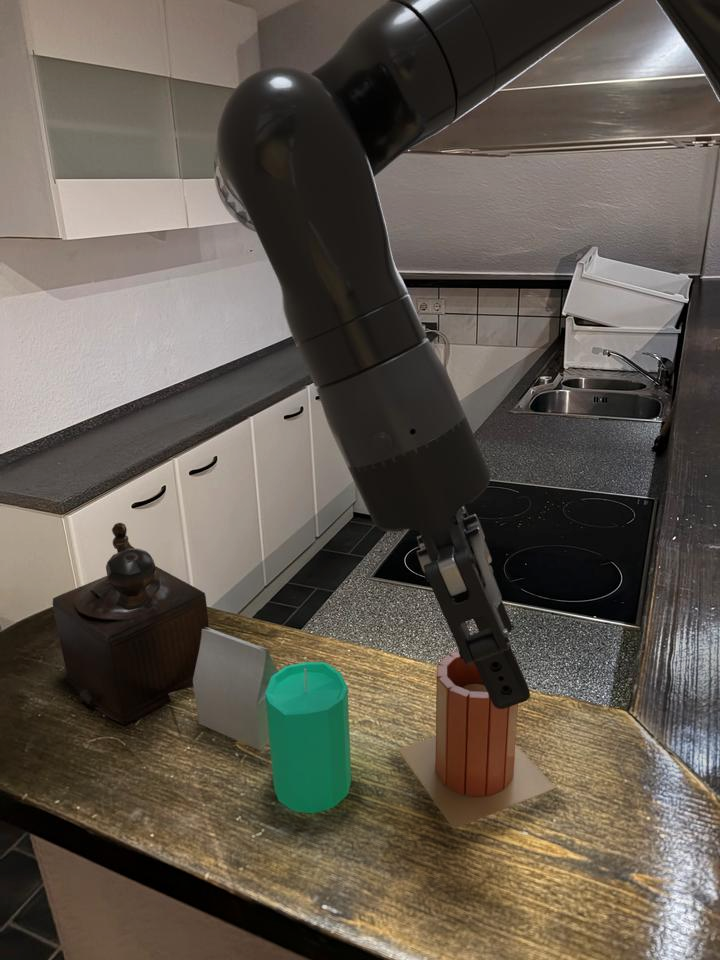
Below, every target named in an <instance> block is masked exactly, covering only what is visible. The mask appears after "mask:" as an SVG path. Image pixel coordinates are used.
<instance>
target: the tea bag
mask: <svg viewBox="0 0 720 960" xmlns="http://www.w3.org/2000/svg"><path fill="white" fill-rule="evenodd" d="M270 653H271V652H270V650H269V648H265V647H263V646H260V645H257V644H254V643H252V642H249V641H246V640H244V639H240V638H239V637H236V636H232V635H230V634H227V633H224V632H221V631H218V630H215V629H213V628H210V627H209V628H207V627H205V629H202V635H201V643H200V649H199V654H198V658H197V663H196V668H195V672H194V677H193V692H194V701H195V708H196V716H197V723H198V724H199V725H201V726H203V727H206V728H208V729H211V730H212V731H214V732H217V733H218V734H222V735H224V736H226V737H228V738H231V739H233V740H235V741H238V742H239V743H242V744H244V745H247V746H249V747H251V748H253V749H256V750H258V751H262V750H263V749H264V748H265V747H266V746H267V745H268V744H270V741H269V731H268V720H267V709H266V698H265V693H266V690H267V687H268V684H269V681H270V679H271V677H272V676H273V675H274V674H276V673H277V672H279V670H278V668H277V666H276V665H275V663H274V660H273V659H272V655H271V654H270Z"/></svg>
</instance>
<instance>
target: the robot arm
mask: <svg viewBox="0 0 720 960" xmlns="http://www.w3.org/2000/svg"><path fill="white" fill-rule="evenodd" d="M623 1H624V0H387V1H386V2H384V3H383V4H381V5H380V6H378V7H377V8H376V9H375V10H373V11H372V12H371V13H369V15H367V16H366V17H365V18H364V19H362V20H361V21H360V22H359V23H358V24H357V25H356V26H355V27H354V29H352V31H351V32H350V33H349V35H348V36H347V38H346V39H345V40H344V41H343V43H342V45H341V46H340V47H339V48H338V50H337V51H336V52H335V54H333V55H332V56H331V57H330V58H329V59H328V60H327V61H325V62H324V63H323V64H321V65H320V66H319V67H317V68H316V69H314V70H313V71H312V72H310V73H309V72H307V71H304V70H301V69H298V68H294V67H289V66H288V67H287V66H272V67H267V68H264V69H261V70H258V71H256V72H254V73H252V74H250V75H248V76H247V77H246V78H245V79H244V80H242V81H241V82H240V83H239V84H238V85H237V86H236V88H235V89H234V90H233V92H231V94H230V95H229V97H228V99H227V101H226V102H225V104H224V106H223V108H222V111H221V113H220V117H219V120H218V125H217V130H216V139H215V140H216V141H215V148H214V149H215V150H214V157H213V178H214V185H215V188H216V191H217V194H218V197H219V199H220V201H221V203H222V205H223V206H224V208H225V209H226V211H227V212H228V213H229V214H230V216H231V217H232V218H233V219H234V220H235V221H236V222H237V223H239V224H240V225H241V226H243V227H244V228H246V229H248V230H249V231H251V232H254V233H256V235H257V237H258V239H259V241H260V245H262V248H263V250H264V252H265V255H266V257H267V259H268V261H269V263H270V264H269V265H270V266H271V268H272V270H273V272H274V274H275V277H276V278H277V280H278V283H279V287H280V292H281V306H282V311H283V316H284V318H285V321H286V322H285V323H286V325H287V328H288V330H289V333H290V335H291V338H292V339H293V343H294V344H295V345H296V348H297V350H298V353H299V354H300V357H301V359H302V361H303V363H304V365H305V369H306V370H307V372H308V374H309V376H310V379H311V380H312V384H313V385H314V387H316V388H315V389H316V393H317V394H318V397H319V401H320V403H321V406H322V410H323V413H324V416H325V420H326V423H327V425H328V428H329V430H330V433H331V435H332V437H333V439H334V441H335V443H336V445H337V447H338V449H339V452H340V454H341V456H342V458H343V460H344V462H345V465H346V467H347V469H348V471H349V474H350V475H351V477H352V480H353V482H354V483H355V486H356V488H357V490H358V492H359V495H360V497H361V499H362V501H363V503H364V506H365V507H366V509H367V510H366V511H367V512H368V514H369V516H370V518H371V520H372V523H373V524H374V525H375V527H376V528H377V529H379V530H381V531H383V532H388V533H400V532H403V531H404V530H411V531H412V530H413V531H418V532H419V534H420V535H418V536H416V540H417V544H418V547H419V550H416V555H417V558H418V561H419V563H420V566H421V570H422V573H423V576H424V578H425V581H426V582H428V583H429V585H430V587H431V590H432V592H433V594H434V596H435V598H436V601H437V603H438V606H439V608H440V611H441V613H442V615H443V617H444V620H445V621H446V624H447V626H448V627H449V630H450V632H451V635H452V637H453V639H454V641H455V643H456V646H457V648H458V651H459V655H460V657H461V659H464V661H465V663H466V665H468V664H471V663H475V666H476V668H477V670H478V672H479V674H480V677H481V679H482V681H483V683H484V685H485V688H486V690H487V692H488V694H489V696H490V699H491V701H492V703H493V705H494V706H495V707H496V708H498V709H505V708H508V707H510V706H513V705H516V704H518V705H519V704H522V703H524V702H527V701H528V700H529V699H530V697H531V692H530V688H529V685H528V683H527V680H526V677H525V676H524V674H523V671H522V668H521V667H520V664H519V662H518V660H517V658H516V654H515V653H514V650H513V648H512V645H511V642H510V638H511V635H510V633H511V632H512V631H513V625H512V621H511V619H510V616H509V613H508V612H507V609H506V606H505V605H504V602H503V597H502V594H501V591H500V589H499V588H500V587H499V585H498V583H497V580H496V578H495V576H494V569H493V567H492V565H490V564H491V563H492V561H493V559H492V556H491V555H492V554H491V553H490V550H489V547H488V545H487V542H486V535H485V533H484V530H483V527H482V525H481V522H480V520H479V518H478V516H477V514H476V513H474V514H470V515H469V513H468V511H467V508H466V506H465V505H470V504H472V503H473V502H475V501H476V500H477V499H478V498H479V497H480V496H481V495H483V493H484V492H485V491H486V490H487V488H488V487H489V484H490V481H491V473H490V469H489V467H488V466H487V463H486V461H485V459H484V456H483V454H482V451H481V449H480V447H479V444H478V442H477V440H476V437H475V434H474V432H473V430H472V428H471V425H470V422H469V421H468V418H467V416H466V413H465V411H464V408H463V406H462V404H461V401H460V398H459V397H458V394H457V392H456V390H455V387H454V385H453V383H452V379H451V378H450V376H449V374H448V372H447V370H446V368H445V366H444V365H443V362H442V361H441V359H440V357H439V356H438V354H437V353H436V351H435V349H434V347H433V346H432V343H431V342H430V339H429V338H428V337H427V333H426V331H425V328H424V326H423V324H422V321H421V318H420V316H419V314H418V311H417V309H416V307H415V304H414V302H413V300H412V298H411V295H410V294H409V290H408V288H407V286H406V284H405V282H404V280H403V277H402V275H401V273H400V272H399V270H398V269H397V266H396V263H395V261H394V256H393V252H392V248H391V243H390V238H389V237H390V236H389V232H388V227H387V223H386V220H385V215H384V212H383V211H384V210H383V208H382V204H381V201H380V200H381V199H380V196H379V192H378V189H377V185H376V180H375V178H374V177H376V176H377V175H378V174H380V173H381V172H382V171H384V169H386V168H387V167H389V165H390V164H391V163H393V162H394V161H395V160H396V159H397V158H399V157H400V156H401V155H403V154H404V153H406V152H407V151H409V150H411V149H412V148H414V147H415V146H417V145H419V144H421V143H422V142H424V141H426V140H428V139H429V138H431V137H433V136H435V135H437V134H438V133H440V132H442V131H443V130H444V129H447V128H448V127H450V125H452V124H454V123H455V122H456V121H458V120H459V119H461V118H462V117H463V116H465V115H466V114H468V113H469V112H471V111H472V110H474V109H475V108H476V107H477V106H479V105H480V104H481V105H482V103H484V102H485V101H486V100H488V99H489V98H490V97H492V96H493V95H495V94H496V93H498V92H499V91H500V90H502V89H504V87H506V86H507V85H509V84H510V83H512V82H513V81H514V80H515V79H517V78H518V77H519V76H521V75H522V74H524V73H525V72H527V71H528V70H529V69H530V68H532V67H533V66H535V65H536V64H537V63H538V62H540V61H541V60H543V59H544V58H545V57H547V56H548V55H549V54H551V53H552V52H554V51H555V50H556V49H558V48H559V47H560V46H562V45H563V44H564V43H565V42H567V41H568V40H570V39H571V38H572V37H574V36H576V35H577V34H578V33H579V32H581V31H582V30H583V29H585V28H586V27H587V26H589V25H590V24H592V23H593V22H594V21H596V20H597V19H599V18H600V17H601V16H603V15H604V14H606V13H607V12H608V11H610V10H612V9H613V8H615V7H616V6H618V5H619V4H620V3H622V2H623ZM655 2H656V3H657V5H658V6H659V8H660V9H661V10H662V12H663V13H664V15H665V16H666V17H667V19H668V21H669V22H670V23H671V25H672V26H673V28H674V29H675V30H676V32H677V33H678V35H679V36H680V38H681V39H682V41H683V43H685V46H686V47H687V48H688V50H689V51H690V53H691V55H692V56H693V57H694V59H695V61H696V62H697V63H698V66H699V68H700V69H701V71H702V72H703V74H704V76H705V78H706V80H707V81H708V83H709V85H710V87H711V88H712V91H713V92H714V95H715V96H716V98H717V100H718V102H720V0H655ZM472 620H473V621H474V624H475V626H476V628H477V630H478V631H476V632H474V633H472V634H471V632H470V630H469V627H468V623H467V622H469V621H472Z"/></svg>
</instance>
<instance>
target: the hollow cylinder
mask: <svg viewBox="0 0 720 960" xmlns="http://www.w3.org/2000/svg"><path fill="white" fill-rule="evenodd" d="M470 684H480V685H484V683H483V681H482V679H481V677H480V674H479V672H478V670H477V668H476V666H475V663H471V664H468V665H466V663H465V661H464V659H461V657H460V655H459V650H458V651H453V652H450V653H448V654H446V655H445V656H444V657H443V658H442V659H441V660H439V662H438V663H437V665H436V688H435V689H436V691H435V693H436V694H435V695H436V697H435V698H436V699H435V736H436V762H435V771H436V774H437V775H438V776H439V778H440V779H441V781H442V782H443V783H444V785H447V788H450V789H452V790H454V791H456V792H458V793H460V794H462V795H464V794H465V793H466V796H479V797H485V794H486V795H487V796H489V795H492V794H495V793H497V792H500V791H502V790H503V789H505V788H506V787H507V785H508V784H509V783H510V781H511V780H512V779H513V776H514V760H515V744H516V745H517V743H516V741H517V725H518V711H519V709H518V708H519V704H516V705H513V706H510V707H508V708H505V709H498V708H496V707H495V706H494V705H493V703H492V701H491V699H490V696H489V694H488V692H477V691H469V690H466V689H464V688H463V687H464V686H466V685H470ZM484 686H485V685H484Z"/></svg>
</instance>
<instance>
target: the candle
mask: <svg viewBox="0 0 720 960" xmlns="http://www.w3.org/2000/svg"><path fill="white" fill-rule="evenodd" d="M265 698H266V709H267V720H268V731H269V741H270V742H269V752H270V761H271V763H270V764H271V773H272V784H273V788H274V792H275V795H276V798H277V801H278V802H279V803H281V804H283V805H284V806H285V807H287V809H289V810H290V811H292V812H297V813H306V814H307V813H308V814H316V813H319V812H323V811H327V810H329V809H330V810H331V809H334V808H335V807H336V806H337V805H338V804H339V803H341V802H342V801H343V800H344V799H345V798H347V796H348V795H349V791H350V787H351V784H352V763H351V762H352V761H351V759H352V758H351V738H350V712H349V687H348V685H347V683H346V681H345V678H344V676H343V674H342V673H341V672H340V671H339V670H337V669H336V668H335V667H334V666H332V665H330V664H329V663H327V662H326V661H325V662H324V661H321V662H320V661H318V662H317V661H305V662H300V663H295V664H290V665H289V664H288V665H285V666H284V667H283V668H282V669H281V668H280V670H278V672H277V673H276V674H274V675H273V676H272V677H271V679H270V681H269V684H268V687H267V690H266V693H265Z"/></svg>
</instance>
